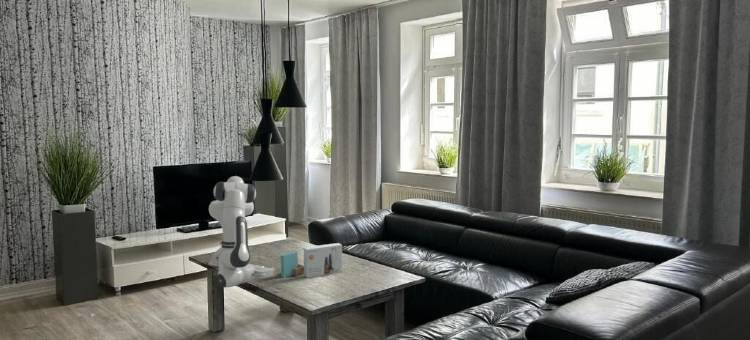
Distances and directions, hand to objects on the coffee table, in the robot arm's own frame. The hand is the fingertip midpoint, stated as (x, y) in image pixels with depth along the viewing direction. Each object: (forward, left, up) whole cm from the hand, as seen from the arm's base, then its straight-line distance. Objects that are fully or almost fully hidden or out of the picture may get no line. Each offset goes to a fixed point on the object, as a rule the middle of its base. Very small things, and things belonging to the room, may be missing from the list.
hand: (268, 267), depth 306 cm
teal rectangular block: (+5, +14, -8) cm, 17 cm away
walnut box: (+7, +17, -8) cm, 20 cm away
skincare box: (+23, +20, -8) cm, 31 cm away
